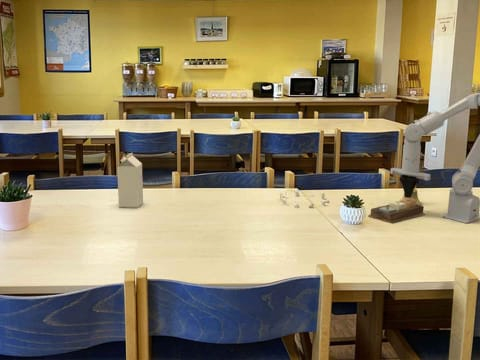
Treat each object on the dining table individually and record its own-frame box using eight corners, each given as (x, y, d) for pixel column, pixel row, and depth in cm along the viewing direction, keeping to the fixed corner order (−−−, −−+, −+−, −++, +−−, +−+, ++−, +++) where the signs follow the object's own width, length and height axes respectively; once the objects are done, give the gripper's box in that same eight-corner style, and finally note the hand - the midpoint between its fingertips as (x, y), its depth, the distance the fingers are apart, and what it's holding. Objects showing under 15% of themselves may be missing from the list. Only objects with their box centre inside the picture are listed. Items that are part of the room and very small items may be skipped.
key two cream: (405, 210, 189) (406, 203, 188) (398, 212, 187) (399, 205, 186) (396, 208, 192) (396, 200, 192) (389, 209, 190) (389, 202, 189)
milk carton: (143, 203, 204) (141, 152, 200) (137, 208, 197) (136, 156, 193) (124, 202, 204) (122, 152, 200) (118, 207, 197) (116, 155, 193)
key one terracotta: (415, 208, 192) (416, 201, 192) (408, 209, 190) (409, 202, 189) (406, 205, 195) (406, 198, 195) (399, 207, 193) (399, 200, 192)
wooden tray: (425, 214, 191) (425, 206, 191) (392, 223, 181) (392, 214, 180) (401, 208, 199) (402, 200, 198) (368, 216, 188) (369, 208, 188)
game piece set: (278, 195, 219) (278, 186, 218) (328, 197, 217) (329, 187, 216) (276, 208, 200) (276, 198, 199) (332, 210, 198) (332, 199, 197)
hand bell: (416, 207, 201) (420, 164, 198) (395, 203, 206) (398, 162, 202) (424, 203, 207) (428, 161, 204) (403, 199, 212) (406, 159, 209)
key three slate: (395, 216, 186) (396, 208, 185) (387, 218, 184) (388, 210, 183) (386, 213, 189) (386, 206, 189) (378, 215, 187) (378, 208, 186)
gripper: (436, 160, 186) (433, 199, 189) (399, 154, 197) (396, 191, 200) (425, 162, 182) (421, 202, 184) (388, 156, 192) (385, 194, 195)
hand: (408, 197), depth 192 cm, fingers closed
